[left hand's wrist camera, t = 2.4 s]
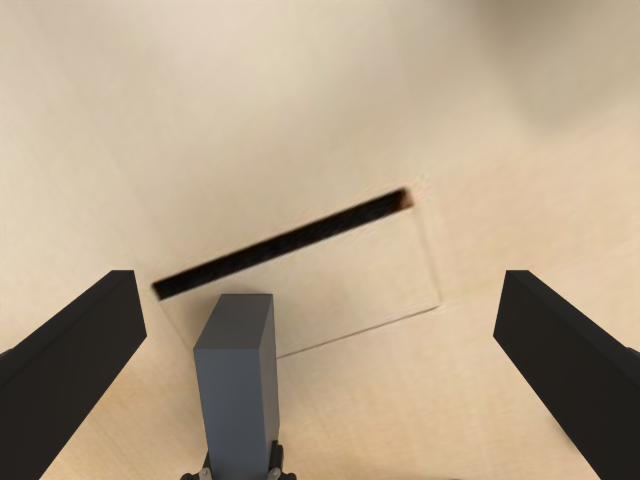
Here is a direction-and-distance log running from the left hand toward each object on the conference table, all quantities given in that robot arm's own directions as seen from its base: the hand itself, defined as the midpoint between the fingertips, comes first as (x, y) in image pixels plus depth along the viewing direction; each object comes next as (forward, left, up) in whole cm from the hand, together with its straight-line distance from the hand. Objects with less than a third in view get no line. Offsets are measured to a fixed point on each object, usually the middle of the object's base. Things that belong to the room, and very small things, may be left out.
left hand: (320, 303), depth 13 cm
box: (+27, -2, -27) cm, 38 cm away
